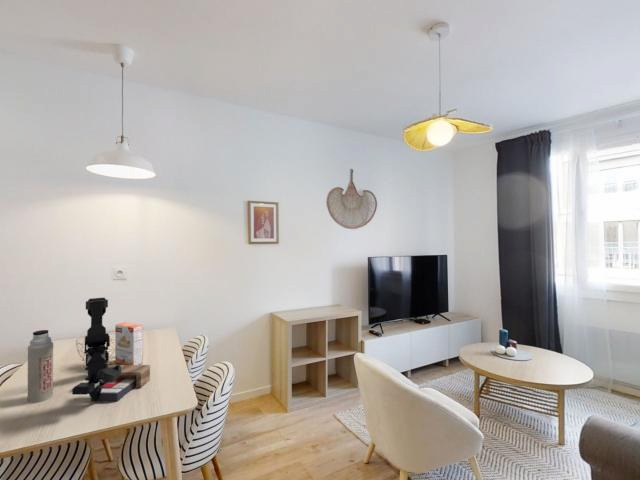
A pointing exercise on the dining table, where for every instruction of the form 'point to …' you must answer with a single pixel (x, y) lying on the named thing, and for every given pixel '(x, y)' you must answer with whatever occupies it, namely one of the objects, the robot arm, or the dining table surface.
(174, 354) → the dining table surface
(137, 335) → the cracker box
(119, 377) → the overhang shelf
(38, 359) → the thermos bottle
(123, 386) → the calculator
